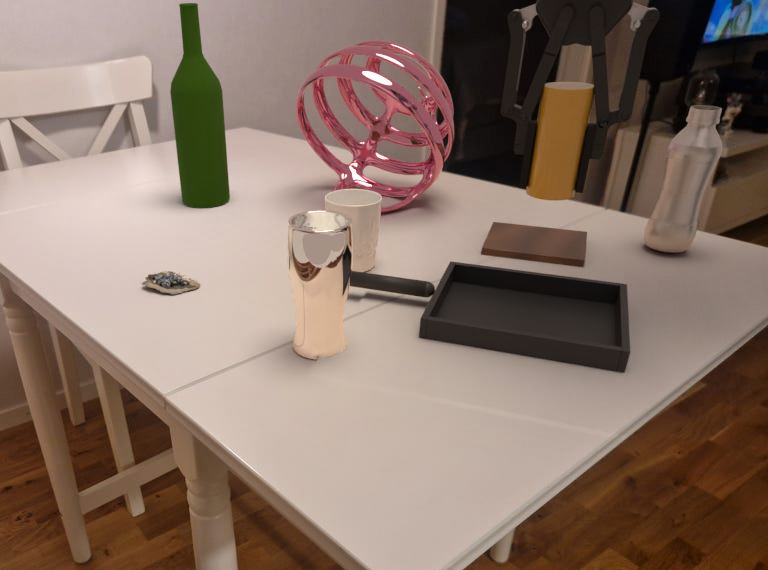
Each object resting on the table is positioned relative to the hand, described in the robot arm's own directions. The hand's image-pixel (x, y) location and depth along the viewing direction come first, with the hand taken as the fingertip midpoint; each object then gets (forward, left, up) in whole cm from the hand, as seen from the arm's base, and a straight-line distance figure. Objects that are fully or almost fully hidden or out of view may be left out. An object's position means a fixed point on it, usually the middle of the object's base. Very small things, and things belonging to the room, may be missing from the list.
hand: (551, 186), depth 71 cm
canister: (0, 0, -1) cm, 1 cm away
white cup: (+25, -9, -16) cm, 31 cm away
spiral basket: (+30, -39, -16) cm, 52 cm away
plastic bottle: (-17, -30, -16) cm, 38 cm away
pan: (0, +1, -16) cm, 16 cm away
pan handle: (+17, +1, -15) cm, 23 cm away
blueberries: (+46, +6, -16) cm, 49 cm away
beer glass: (+21, +15, -16) cm, 31 cm away
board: (+1, -24, -16) cm, 29 cm away
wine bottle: (+60, -29, -16) cm, 69 cm away
